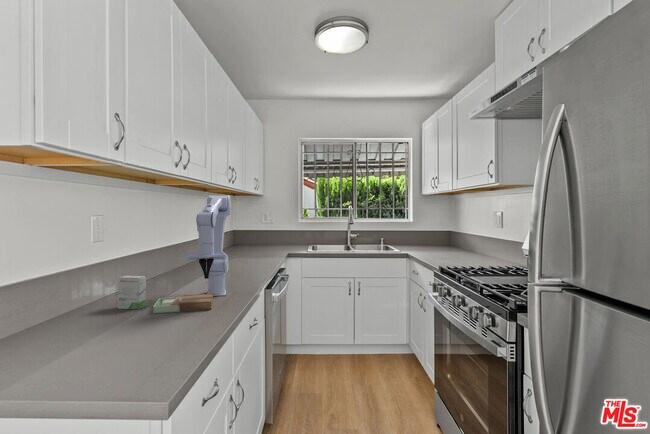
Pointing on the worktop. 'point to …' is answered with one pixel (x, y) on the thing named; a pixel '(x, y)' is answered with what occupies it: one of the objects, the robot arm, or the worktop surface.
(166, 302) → the cream tile
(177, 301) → the terracotta tile
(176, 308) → the tray
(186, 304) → the walnut board
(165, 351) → the worktop surface
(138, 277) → the ink box
